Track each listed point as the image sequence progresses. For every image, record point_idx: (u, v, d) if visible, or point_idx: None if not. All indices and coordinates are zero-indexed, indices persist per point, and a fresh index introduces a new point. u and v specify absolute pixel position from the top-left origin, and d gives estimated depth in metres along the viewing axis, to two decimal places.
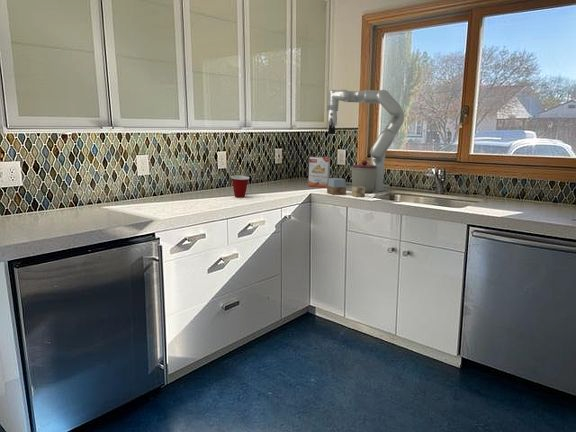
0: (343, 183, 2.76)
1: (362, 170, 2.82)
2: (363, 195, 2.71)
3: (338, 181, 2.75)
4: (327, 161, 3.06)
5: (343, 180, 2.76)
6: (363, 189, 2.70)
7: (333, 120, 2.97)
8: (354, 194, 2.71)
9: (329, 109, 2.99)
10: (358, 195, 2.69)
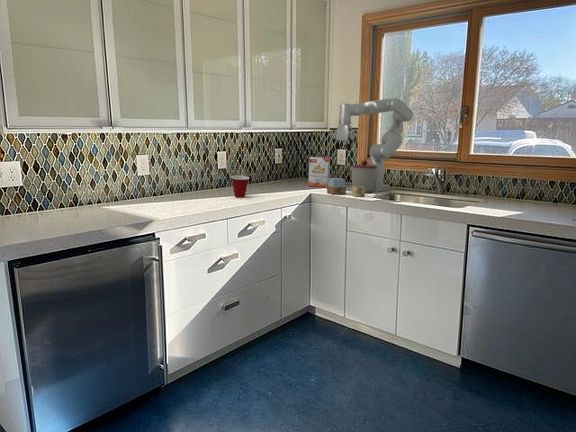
0: (343, 183, 2.76)
1: (362, 170, 2.82)
2: (363, 195, 2.71)
3: (338, 181, 2.75)
4: (327, 161, 3.06)
5: (343, 180, 2.76)
6: (363, 189, 2.70)
7: None
8: (354, 194, 2.71)
9: (346, 124, 2.82)
10: (358, 195, 2.69)
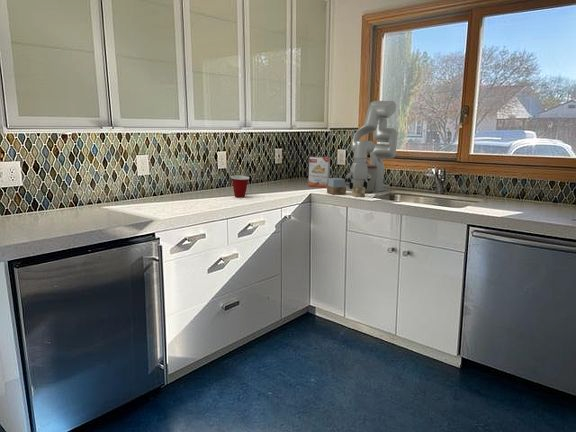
0: (343, 183, 2.77)
1: None
2: (363, 195, 2.71)
3: (338, 181, 2.75)
4: (327, 161, 3.06)
5: (343, 180, 2.76)
6: (363, 189, 2.70)
7: None
8: (354, 194, 2.71)
9: (365, 162, 2.68)
10: (358, 195, 2.69)
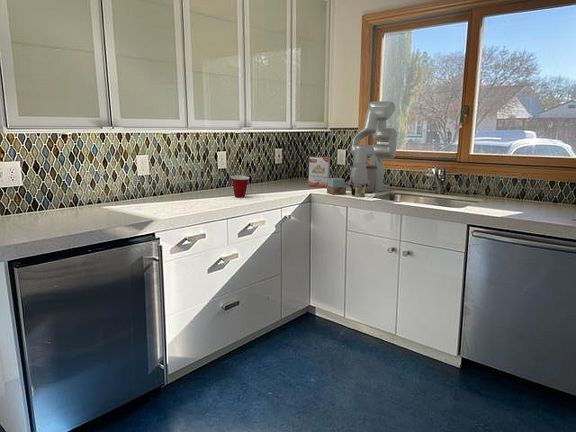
0: (342, 183, 2.77)
1: None
2: (363, 195, 2.71)
3: (337, 181, 2.75)
4: (327, 161, 3.06)
5: (342, 180, 2.76)
6: (363, 189, 2.70)
7: None
8: None
9: (365, 167, 2.69)
10: (358, 195, 2.69)
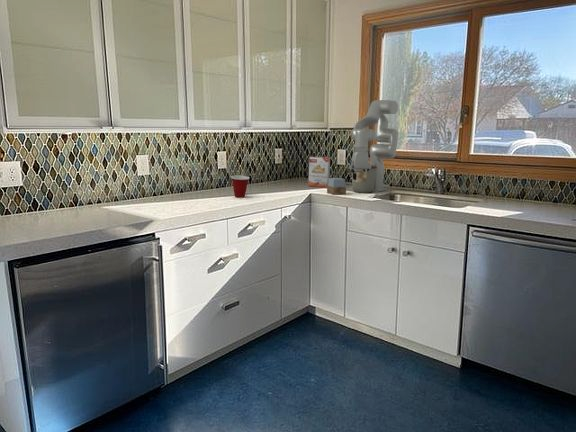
0: (343, 183, 2.77)
1: (362, 170, 2.82)
2: (364, 179, 2.69)
3: (338, 181, 2.75)
4: (327, 161, 3.06)
5: (343, 180, 2.76)
6: (364, 173, 2.68)
7: None
8: None
9: (366, 151, 2.67)
10: (359, 180, 2.68)
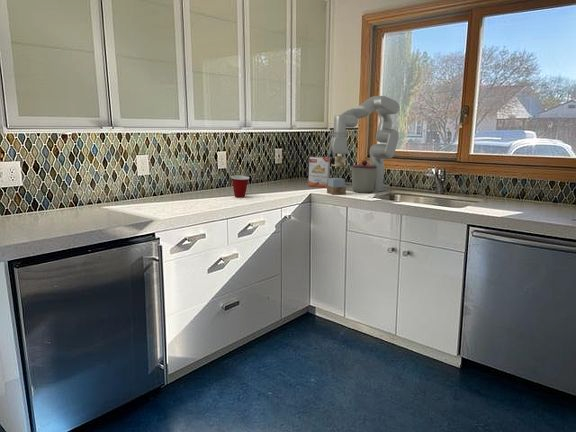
0: (342, 183, 2.77)
1: (362, 170, 2.82)
2: (343, 164, 2.75)
3: (337, 181, 2.76)
4: (327, 161, 3.06)
5: (342, 180, 2.77)
6: (343, 158, 2.74)
7: None
8: None
9: (345, 136, 2.73)
10: (338, 164, 2.74)
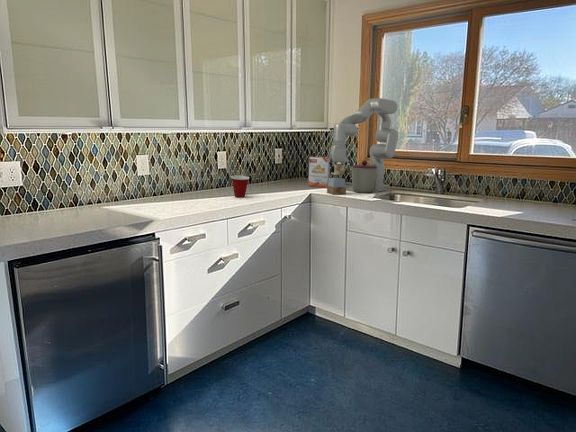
0: (343, 183, 2.77)
1: (362, 170, 2.82)
2: (342, 172, 2.76)
3: (338, 181, 2.76)
4: None
5: (343, 180, 2.77)
6: (342, 166, 2.75)
7: None
8: None
9: (344, 145, 2.74)
10: (337, 172, 2.75)
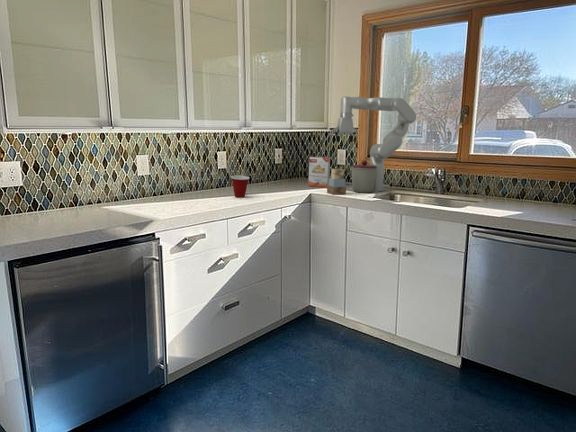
0: (343, 183, 2.77)
1: (362, 170, 2.82)
2: (342, 177, 2.77)
3: (338, 181, 2.76)
4: (327, 161, 3.06)
5: (343, 180, 2.77)
6: (342, 171, 2.76)
7: None
8: (333, 176, 2.77)
9: None
10: (337, 177, 2.76)
